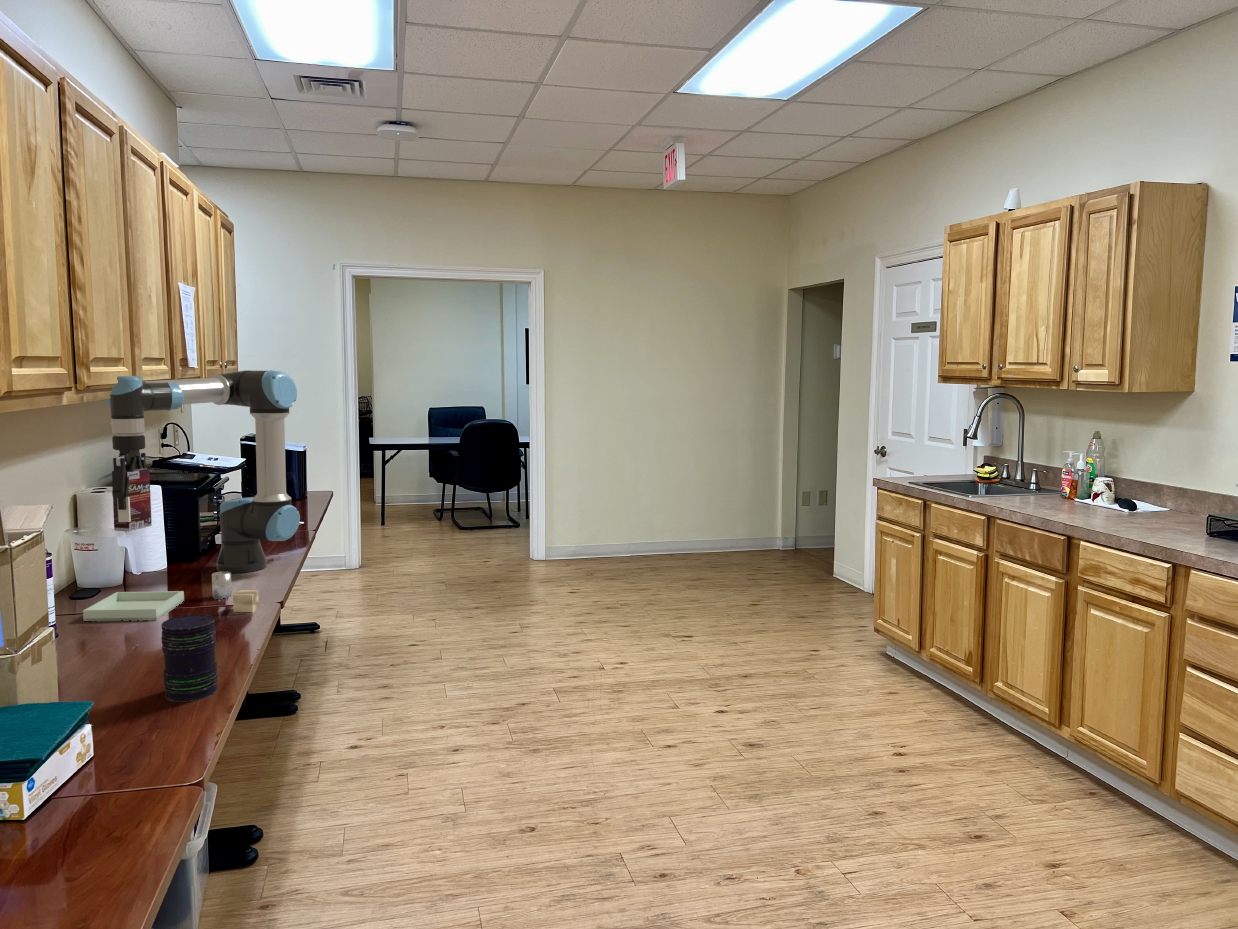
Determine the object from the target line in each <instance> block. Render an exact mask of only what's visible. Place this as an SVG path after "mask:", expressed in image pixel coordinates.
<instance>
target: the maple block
mask: <svg viewBox="0 0 1238 929" xmlns="http://www.w3.org/2000/svg"><path fill="white" fill-rule="evenodd" d="M232 602H233V605H232V608H233V613H234V612H253V613H254V612H256V611H257V610H258V609H259V608H258V607H259V606H260V604H259V590H258V589H252V590H248V589H246V590H245V589H244V590H243V589H241V590H238V591H236V592H235V593H233V594H232ZM257 608H258V609H257ZM256 609H257V610H256Z"/></svg>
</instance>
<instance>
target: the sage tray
mask: <svg viewBox="0 0 1238 929" xmlns="http://www.w3.org/2000/svg"><path fill="white" fill-rule="evenodd" d="M184 593H185V592H184V590H180V591H179V590H175V591H172V590H171V591H169V590H167V591H165V590H164V591H117V592H113V593H112V594H110V595H108V596H107V597H105V598H103V599H101V600H99V601H98V602H96V603H94V604H92V605H90V606H89V607H87V608H85V609H83V610H82V617H83V618H82V619H83V622H84V621H93V622H94V621H97V623H98V622H136V621H137V620H139V621H138V622H140V621H142V622H143V620H148V621H158V620H159V619H161V618H162V617H164V616H166V614H168V613H169V612H171V611H172V610H174V609H175V608H177V607H178V606H179V604H180V605H181V604H183V603H184V602H185V594H184ZM183 601H184V602H183ZM182 602H183V603H182ZM176 606H177V607H176ZM121 620H123V621H121ZM129 620H131V621H129ZM94 623H95V622H94Z"/></svg>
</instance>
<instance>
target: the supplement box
mask: <svg viewBox="0 0 1238 929" xmlns="http://www.w3.org/2000/svg"><path fill="white" fill-rule="evenodd" d="M113 471H114V470H112V471H111V483H112V487H113ZM128 476H129V489H128V495H127V497H129V498H130V516H131V522H118V504H117V497H113V496H112V509H113V510H112V512H113V527H114V528H113V530H114V531H116V532H131V531H136V530H141V529H144V528H149V527H152V526H153V525H152V502H151V481H150V480H151V478H150V477H151V476H150V468H148V467H147V468H142V469H134V472H126V471H125V479H126V480H127V478H128Z"/></svg>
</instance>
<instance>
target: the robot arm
mask: <svg viewBox="0 0 1238 929" xmlns="http://www.w3.org/2000/svg"><path fill="white" fill-rule="evenodd" d="M117 376H118V377H117V380H118V383H117V385H116V386H114V387H113V388H112V392H111V394H110V397H111V398H110V399H104V398H103V401H104V402H105V404H106V405H107V406H108V407H110V420H111V421H110V423H109V424H110V426H111V433H112V434H113V436H112V437H111V439H112V440H111V441H112V442H111V443H112V449H113V450H114V451H118V452H119V454H118V457H113V458H112V464H113V470H112V471H113V486H112V489H111V490H112V493H111V495H112V498H113V497H117V504H118V522H131V516H130V498H129V497H127V495H128V489H129V476H128V478H127V480H126V479H125V471H126V472H134V469H142V468H148V467H147V462H146V458H147V457H146V456H147V455H146V453H145V452H140V450H144V449H145V448H146V436H145V435H144V433H145V432H146V428H145V416H144V415H145V413H144V412H149V411H150V412H152V411H154V412H156V411H159V412H160V411H173V410H177V409H179V408H181V407H182V406H183V405H195V404H196V405H197V404H207V403H212V404H214V405H217V406H222V405H224V406H225V405H231V406H238V407H248V408H249V414H250V415H251V416H252V417H253V418H254V420H255V421H254V422H255V423H254V425H255V428H254V429H255V454H256V455H255V458H256V461H255V463H256V492H257V493H256V495H254V496H250V497H248V496H247V497H242V498H234V499H229V500H228V499H227V500H224V501H222V502H221V503H220V506H219V523H220V540H221V541H220V542H221V545H220V546H221V547H220V550H219V553H218V557H217V560H216V564H215V565H216V571H217V572H222V571H228V572H231V574H241V573H242V574H243V573H251V572H256V571H260V570H262V569H265V568H267V564H268V562H267V558H266V555H265V552H264V550H263V547H262V544H261V540H264V541H269V542H283V541H287V540H289V539H291V538H292V537H293V536H294V534H295V533H297V530H298V528H299V526H300V521H301V515H300V511H299V510H297V508H296V507H295V506H294V505H292V497H291V496H289V494H288V493H287V478H286V476H287V475H286V474H287V473H286V471H287V470H286V469H287V468H286V437H285V436H286V431H285V430H286V428H285V427H286V426H285V418H286V417H288V415H290V408H291V407H293V406H294V405H295V402H296V401H297V399H298V389H297V385H296V383H295V381H294V380H293V378H291V376H290V375H289V374H288V373H285V372H283V371H281V370H280V371H278V370H274V369H273V370H272V369H271V370H249V369H248V370H245V369H244V370H240V371H239V370H237V371H235V372H233V371H232V372H227V373H215V374H213V375H211V376H210V377H204V378H203V377H201V378H199V377H198V378H180V379H178V378H177V379H163V380H162V379H160V380H145V381H144V380H143V379H142V377H141V376H139V375H117Z"/></svg>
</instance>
